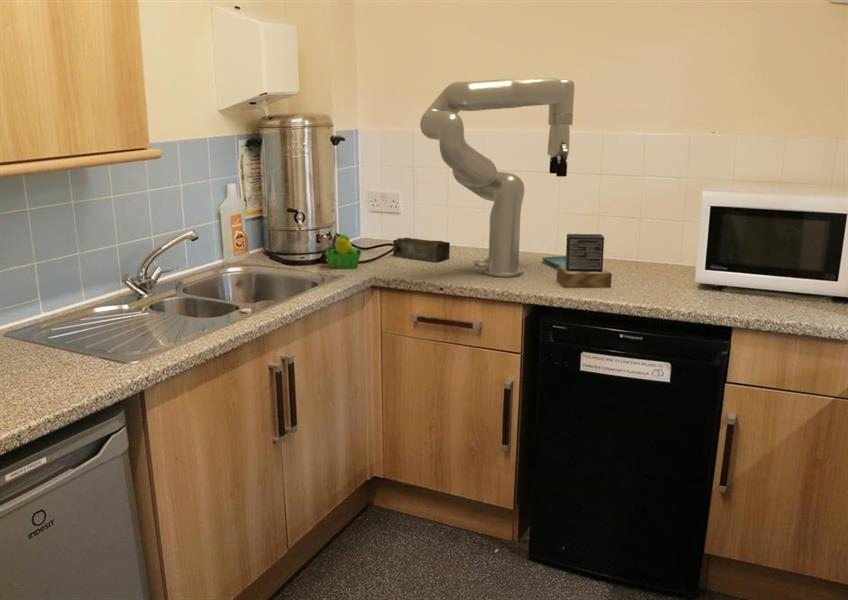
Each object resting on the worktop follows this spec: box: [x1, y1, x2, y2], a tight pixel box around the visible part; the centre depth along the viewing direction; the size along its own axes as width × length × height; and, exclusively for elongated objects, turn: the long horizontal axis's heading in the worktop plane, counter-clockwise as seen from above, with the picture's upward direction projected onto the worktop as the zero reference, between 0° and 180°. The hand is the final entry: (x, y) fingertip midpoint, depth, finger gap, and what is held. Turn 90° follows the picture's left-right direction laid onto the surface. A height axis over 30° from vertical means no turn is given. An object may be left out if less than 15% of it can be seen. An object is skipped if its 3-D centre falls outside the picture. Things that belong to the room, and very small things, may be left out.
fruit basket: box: [325, 234, 362, 269], centre depth 259 cm, size 11×9×11 cm
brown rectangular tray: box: [556, 266, 613, 288], centre depth 239 cm, size 14×10×4 cm
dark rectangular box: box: [392, 237, 451, 263], centre depth 275 cm, size 8×19×7 cm, turn 56°
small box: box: [565, 233, 605, 272], centre depth 237 cm, size 11×6×10 cm, turn 86°
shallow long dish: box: [541, 255, 566, 269], centre depth 259 cm, size 26×9×2 cm, turn 16°
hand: (557, 174), depth 254 cm, fingers open, 9 cm apart
